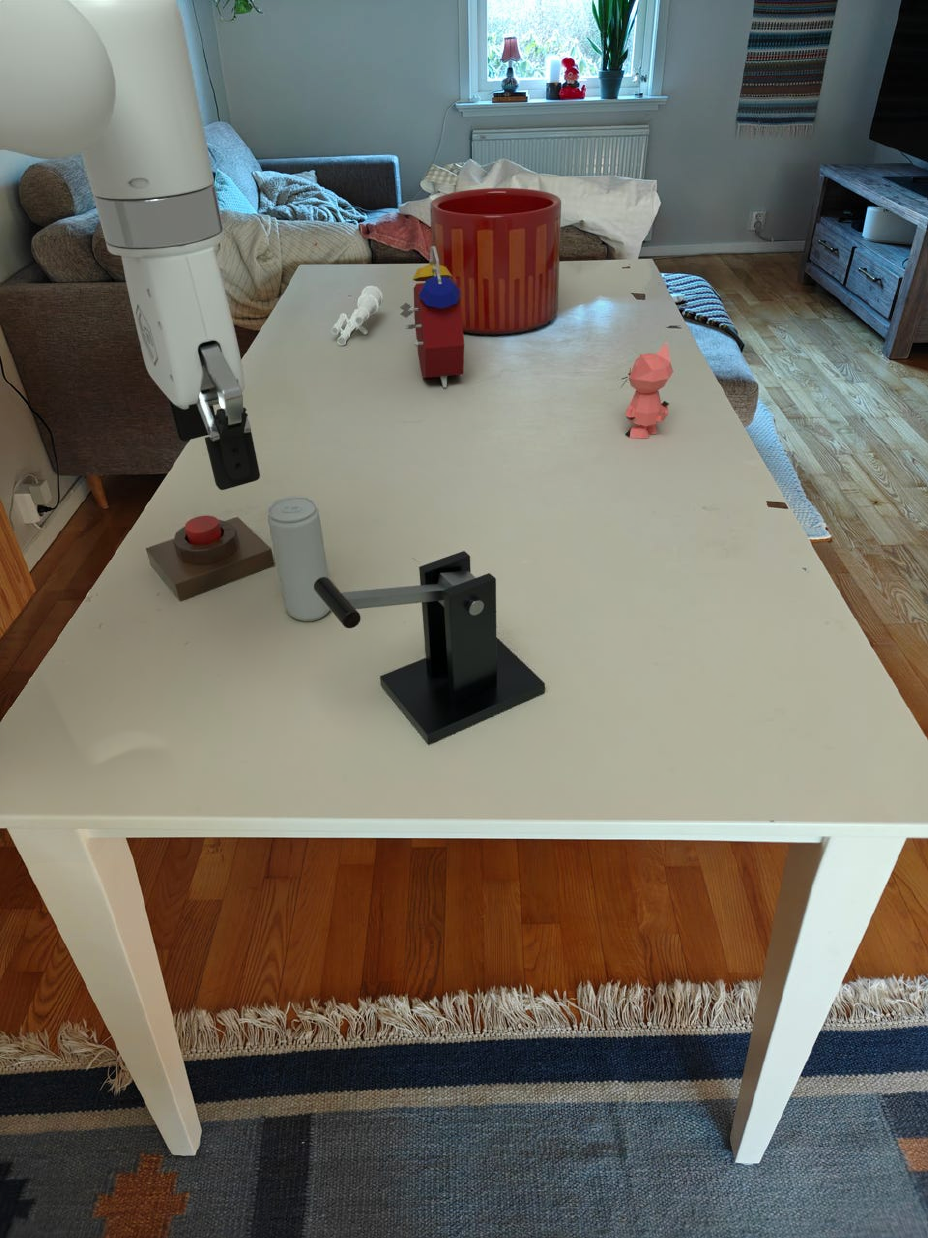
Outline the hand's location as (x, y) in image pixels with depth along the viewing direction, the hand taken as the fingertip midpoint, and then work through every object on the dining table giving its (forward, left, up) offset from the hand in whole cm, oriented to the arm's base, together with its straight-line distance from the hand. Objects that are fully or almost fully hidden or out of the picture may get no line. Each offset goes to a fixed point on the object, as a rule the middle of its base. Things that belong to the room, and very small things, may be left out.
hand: (218, 458), depth 66 cm
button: (-16, +15, -19) cm, 29 cm away
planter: (-10, +105, -23) cm, 108 cm away
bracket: (+18, +4, -23) cm, 29 cm away
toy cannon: (-32, +91, -23) cm, 99 cm away
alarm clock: (-11, +74, -23) cm, 78 cm away
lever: (+14, 0, -11) cm, 18 cm away
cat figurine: (+25, +62, -23) cm, 70 cm away
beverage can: (-1, +11, -23) cm, 25 cm away
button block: (-16, +15, -23) cm, 32 cm away
